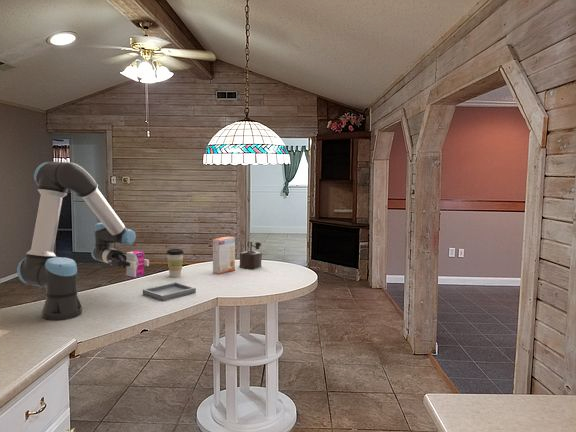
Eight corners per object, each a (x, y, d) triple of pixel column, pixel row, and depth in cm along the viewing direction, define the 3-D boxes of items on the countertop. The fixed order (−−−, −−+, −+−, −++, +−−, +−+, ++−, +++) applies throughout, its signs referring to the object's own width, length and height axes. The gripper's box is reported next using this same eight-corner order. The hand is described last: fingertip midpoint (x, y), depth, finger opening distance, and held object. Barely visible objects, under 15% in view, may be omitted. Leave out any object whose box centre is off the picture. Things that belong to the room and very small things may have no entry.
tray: (162, 301, 214) (162, 295, 214) (142, 294, 224) (142, 289, 224) (195, 292, 230) (195, 287, 230) (175, 286, 240) (175, 282, 240)
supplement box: (134, 278, 207) (134, 253, 206) (125, 276, 210) (125, 252, 209) (144, 276, 212) (144, 251, 211) (136, 274, 215) (135, 250, 214)
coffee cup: (179, 278, 258) (179, 252, 257) (163, 277, 260) (163, 251, 259) (186, 274, 268) (186, 249, 266) (171, 273, 270) (171, 248, 268)
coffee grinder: (238, 267, 290) (238, 239, 288) (248, 264, 300) (249, 237, 298) (258, 271, 282) (258, 242, 280) (268, 267, 291) (269, 240, 290)
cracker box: (228, 269, 285) (228, 235, 283) (235, 270, 281) (235, 237, 279) (211, 272, 274) (212, 238, 271) (219, 274, 270) (219, 239, 268)
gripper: (131, 261, 230) (159, 268, 216) (95, 267, 215) (122, 275, 201) (131, 246, 229) (159, 253, 215) (95, 251, 214) (122, 259, 200)
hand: (141, 264), depth 208 cm, fingers closed on supplement box, 6 cm apart
